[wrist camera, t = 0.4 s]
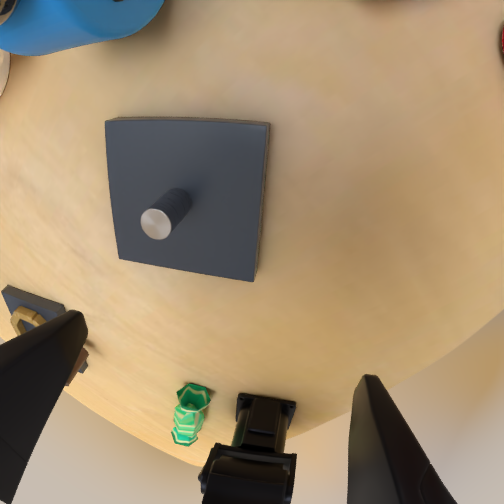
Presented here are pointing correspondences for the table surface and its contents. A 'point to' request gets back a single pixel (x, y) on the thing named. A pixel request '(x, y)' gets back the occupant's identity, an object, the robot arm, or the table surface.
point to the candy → (189, 413)
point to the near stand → (188, 192)
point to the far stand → (33, 307)
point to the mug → (4, 69)
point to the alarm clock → (69, 23)
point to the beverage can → (503, 39)
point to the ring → (37, 320)
